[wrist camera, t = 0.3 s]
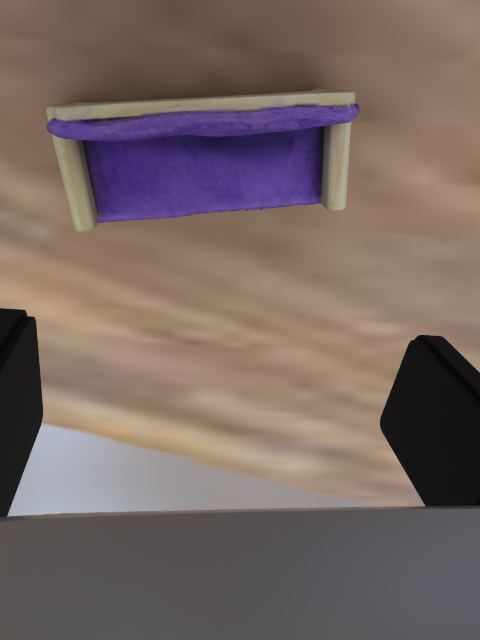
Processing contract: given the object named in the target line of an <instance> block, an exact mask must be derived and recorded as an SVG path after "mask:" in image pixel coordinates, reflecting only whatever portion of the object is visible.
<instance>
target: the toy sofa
mask: <svg viewBox="0 0 480 640" xmlns="http://www.w3.org/2000/svg"><path fill="white" fill-rule="evenodd" d="M46 113H47V117H48V121H49V123H48V125H47V130H48V131H49V132H50V133H51V134H52V138H53V142H54V147H55V151H56V155H57V159H58V164H59V168H60V172H61V176H62V181H63V185H64V189H65V193H66V198H67V202H68V206H69V210H70V215H71V219H72V223H73V227H74V229H75V230H76V231H77V232H84V231H89V230H92V229H95V227H96V225H97V224H98V223H104V222H113V221H124V220H141V219H142V220H143V219H158V218H170V217H178V216H188V215H192V214H199V213H209V212H222V211H224V212H225V211H237V210H246V211H248V210H252V209H260V210H262V209H265V208H276V207H283V206H293V205H310V204H317V203H320V204H322V205H323V206H324V207H325V208H326V209H327V210H331V211H340V210H344V209H345V207H346V196H347V179H348V164H349V149H350V134H351V121H353V119H354V118H355V117H356V116H357V115H358V113H359V106H358V105H357V104H356V103H355V92H352V91H350V90H332V89H324V88H312V89H311V91H299V92H283V93H267V94H251V95H232V96H215V97H195V98H177V99H158V100H138V101H117V102H96V103H85V102H73V103H68V104H63V105H53V106H47V108H46Z"/></svg>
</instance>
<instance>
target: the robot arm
mask: <svg viewBox="0 0 480 640" xmlns="http://www.w3.org/2000/svg"><path fill="white" fill-rule="evenodd" d="M42 418H43V403H42V390H41V378H40V365H39V353H38V340H37V328H36V320H35V318H34V317H30V316H27V313H26V311H25V310H18V309H2V308H0V640H480V373H479V372H478V371H477V370H476V369H475V368H474V367H473V366H472V365H471V364H470V363H469V362H468V361H467V360H466V359H465V358H464V357H463V356H462V355H461V354H460V353H459V352H458V351H457V350H456V349H455V348H454V347H453V346H452V345H451V344H450V343H449V342H448V341H447V340H446V339H445V338H443V337H442V336H430V335H419V336H417V337H416V338H415V340H412V341H411V342H410V343H409V345H408V347H407V350H406V352H405V355H404V358H403V360H402V363H401V365H400V368H399V371H398V373H397V376H396V379H395V381H394V384H393V387H392V389H391V392H390V394H389V397H388V400H387V402H386V405H385V408H384V410H383V413H382V415H381V419H380V427H381V430H382V432H383V434H384V436H385V438H386V439H387V441H388V443H389V444H390V446H391V448H392V450H393V451H394V453H395V455H396V456H397V458H398V460H399V462H400V463H401V465H402V467H403V468H404V470H405V472H406V474H407V475H408V477H409V479H410V480H411V482H412V484H413V485H414V487H415V489H416V491H417V492H418V494H419V496H420V497H421V499H422V501H423V503H424V504H425V506H417V507H345V508H343V507H340V508H281V509H280V508H279V509H231V510H230V509H227V510H184V511H183V510H182V511H136V512H96V513H62V514H44V515H26V516H9V517H7V515H8V512H9V510H10V507H11V504H12V501H13V499H14V496H15V493H16V491H17V488H18V485H19V483H20V480H21V477H22V474H23V472H24V469H25V466H26V464H27V461H28V459H29V455H30V452H31V450H32V448H33V445H34V442H35V440H36V437H37V434H38V432H39V429H40V426H41V423H42Z"/></svg>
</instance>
